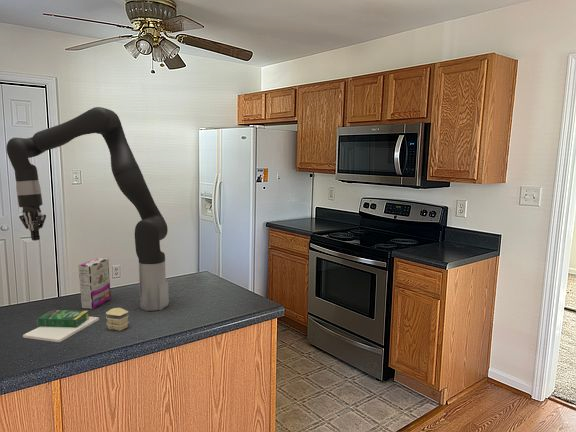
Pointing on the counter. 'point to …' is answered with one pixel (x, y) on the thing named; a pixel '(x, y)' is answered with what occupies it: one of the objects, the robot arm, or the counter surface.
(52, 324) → the coffee box
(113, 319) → the layered sandwich
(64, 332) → the cutting board
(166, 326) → the counter surface
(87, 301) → the candy bar box
